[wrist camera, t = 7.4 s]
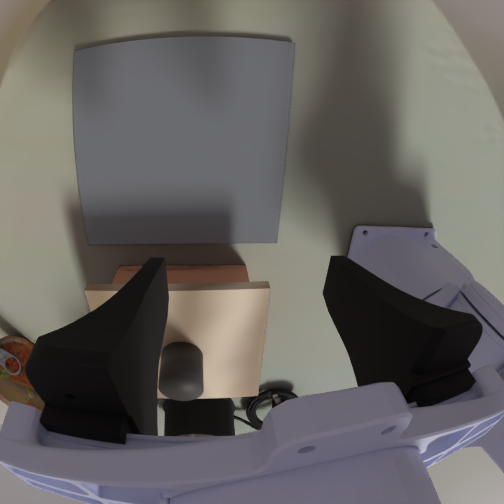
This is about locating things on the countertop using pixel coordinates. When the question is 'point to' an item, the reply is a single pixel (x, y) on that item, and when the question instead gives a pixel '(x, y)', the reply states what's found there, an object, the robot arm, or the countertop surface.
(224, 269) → the terracotta dish
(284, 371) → the countertop surface
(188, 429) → the milk frother
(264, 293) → the birch lid
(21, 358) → the tin
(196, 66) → the slate mat
